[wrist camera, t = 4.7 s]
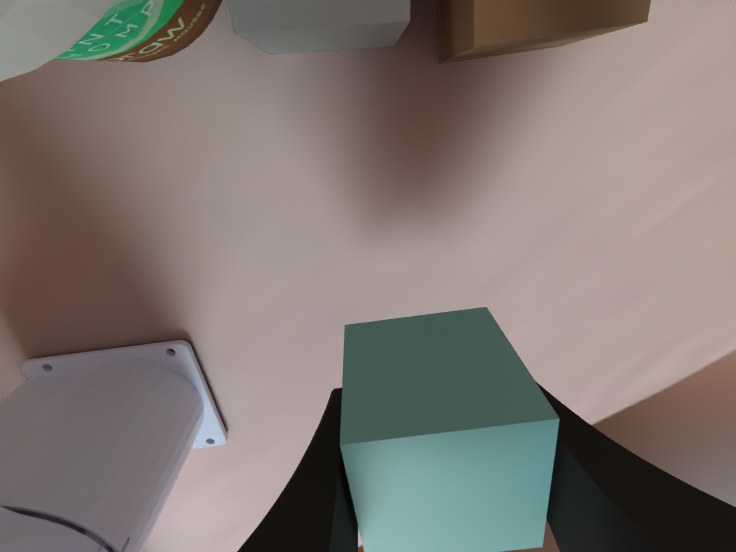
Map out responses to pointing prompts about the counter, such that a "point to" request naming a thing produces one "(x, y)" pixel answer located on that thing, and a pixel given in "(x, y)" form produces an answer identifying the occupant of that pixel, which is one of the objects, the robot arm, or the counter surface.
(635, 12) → the brass block
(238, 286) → the counter surface
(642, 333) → the counter surface
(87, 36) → the food container
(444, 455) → the teal block
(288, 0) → the slate-grey block
